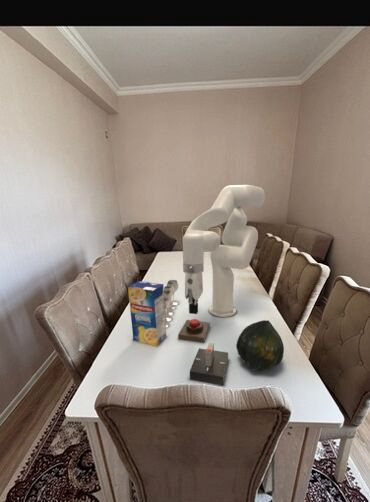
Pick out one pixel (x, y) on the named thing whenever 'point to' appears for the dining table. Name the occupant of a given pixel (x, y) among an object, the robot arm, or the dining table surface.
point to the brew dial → (209, 354)
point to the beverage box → (147, 312)
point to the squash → (260, 346)
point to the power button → (194, 322)
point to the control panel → (209, 367)
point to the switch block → (194, 332)
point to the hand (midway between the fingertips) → (193, 312)
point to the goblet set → (169, 298)
